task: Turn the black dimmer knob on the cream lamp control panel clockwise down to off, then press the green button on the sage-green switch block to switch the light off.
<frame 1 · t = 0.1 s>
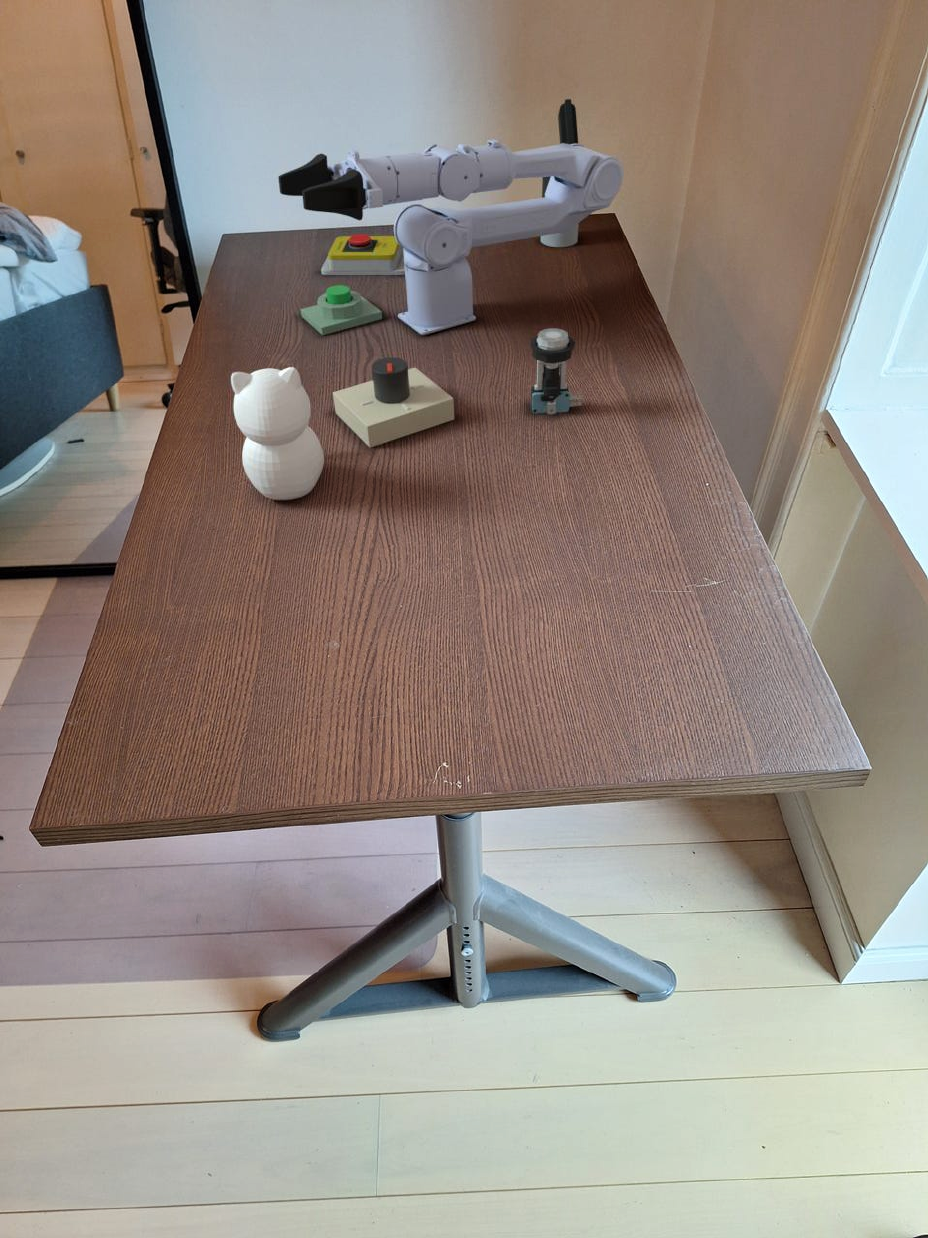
hand: (291, 192, 107), 22 cm above the table, tool horizontal, fingers open, 7 cm apart
track light: (560, 245, 150), on the table
push button: (554, 410, 109), on the table
cat figurine: (289, 481, 99), on the table
switch block: (341, 317, 131), on the table
light button: (338, 295, 129), point 3 cm above the table, slide at 0.1 cm
emergency button: (368, 265, 146), on the table
dimmer panel: (394, 416, 109), on the table
dimmer knob: (390, 379, 105), point 5 cm above the table, hinge at 65.0°
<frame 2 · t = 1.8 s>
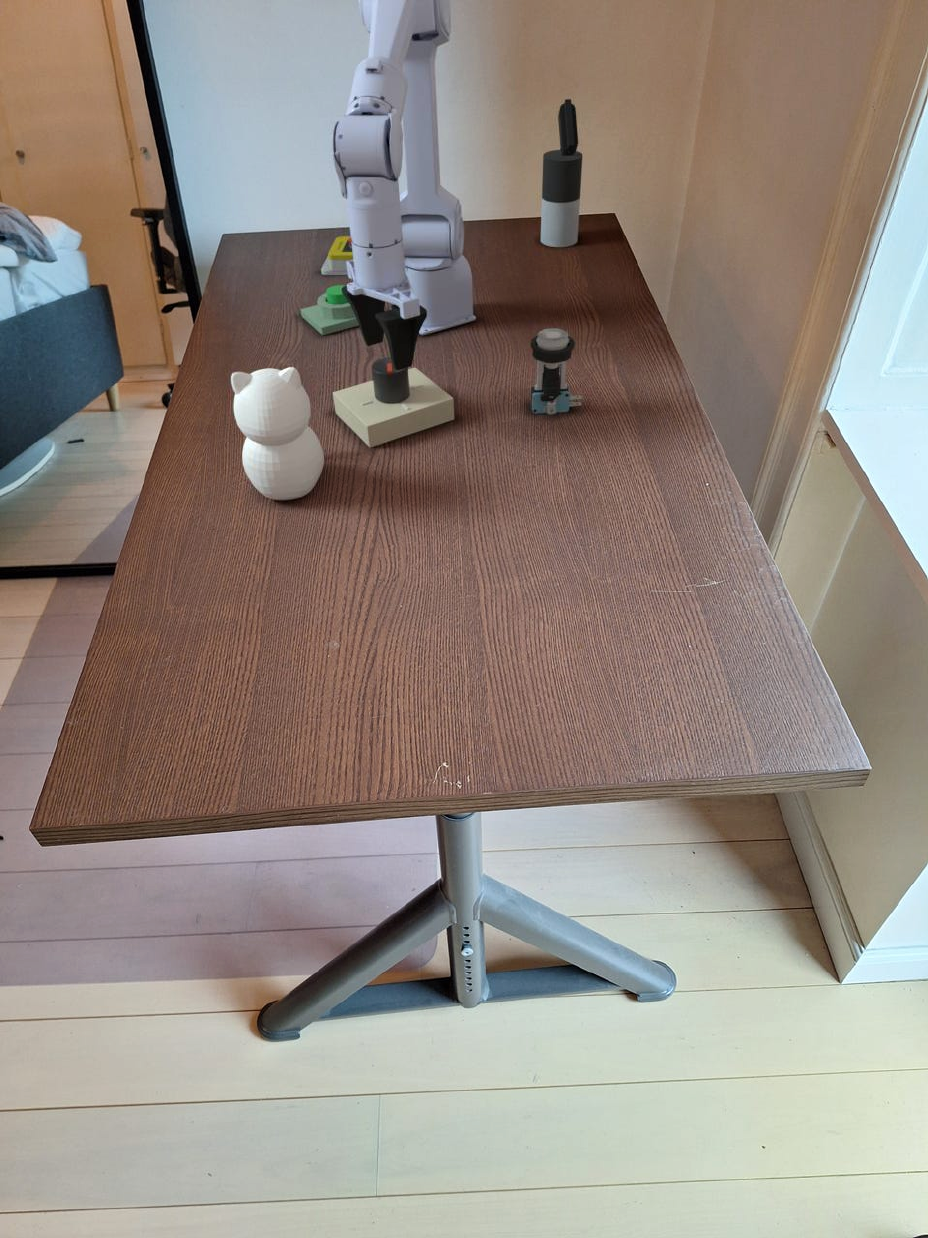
hand: (388, 354, 103), 8 cm above the table, tool pointing down, fingers open, 7 cm apart
nothing on the table moved.
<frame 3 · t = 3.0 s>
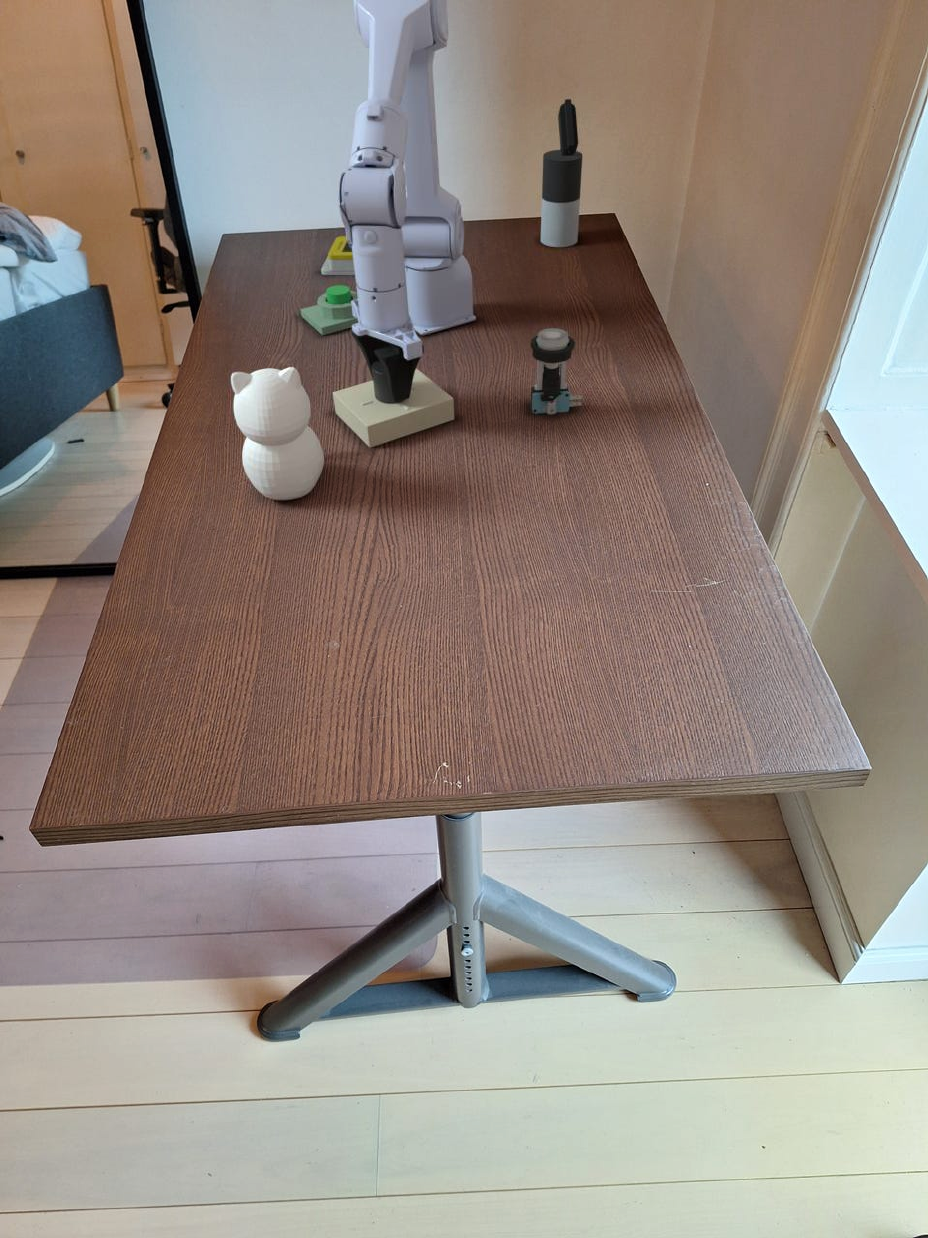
hand: (391, 390, 106), 4 cm above the table, tool pointing down, fingers closed on dimmer knob, 4 cm apart
dimmer knob: (390, 379, 105), point 5 cm above the table, hinge at 64.8°, touching gripper
everything else where it was.
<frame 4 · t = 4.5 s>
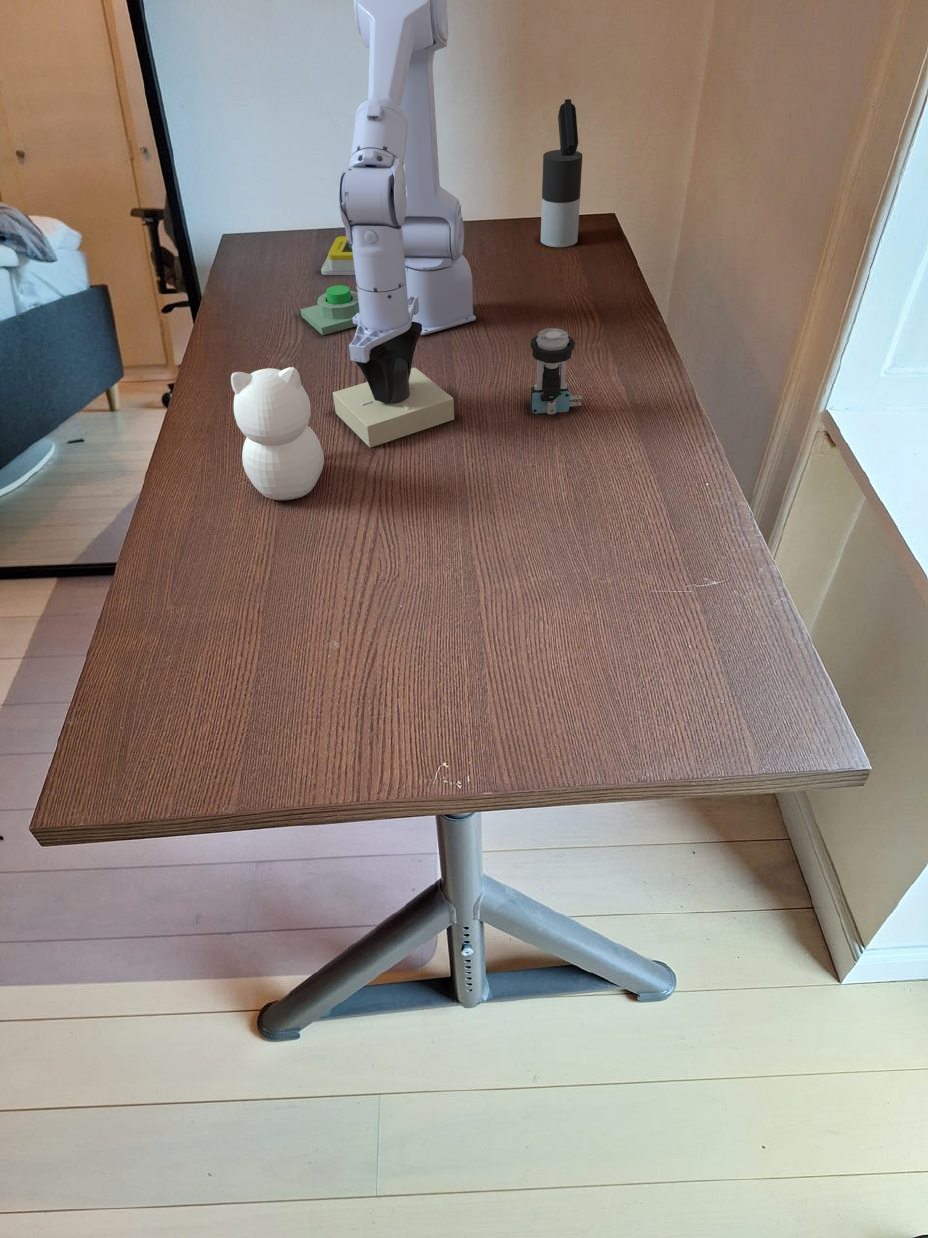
hand: (392, 390, 106), 4 cm above the table, tool pointing down, fingers closed on dimmer knob, 4 cm apart
dimmer knob: (390, 379, 105), point 5 cm above the table, hinge at 12.1°, touching gripper
everything else where it was.
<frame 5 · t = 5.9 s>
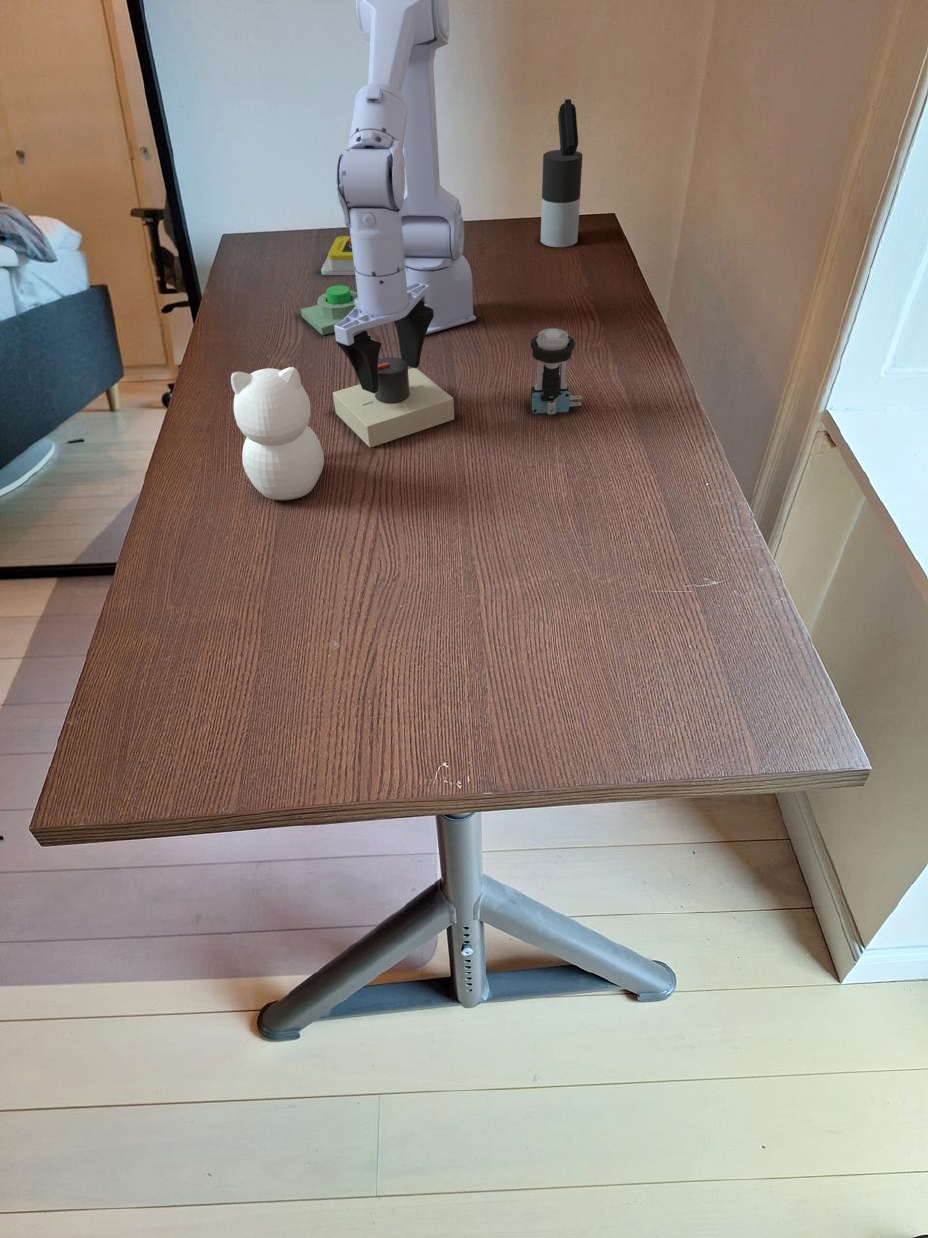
hand: (390, 377, 105), 5 cm above the table, tool pointing down, fingers open, 7 cm apart
dimmer knob: (390, 379, 105), point 5 cm above the table, hinge at -4.8°
everything else where it was.
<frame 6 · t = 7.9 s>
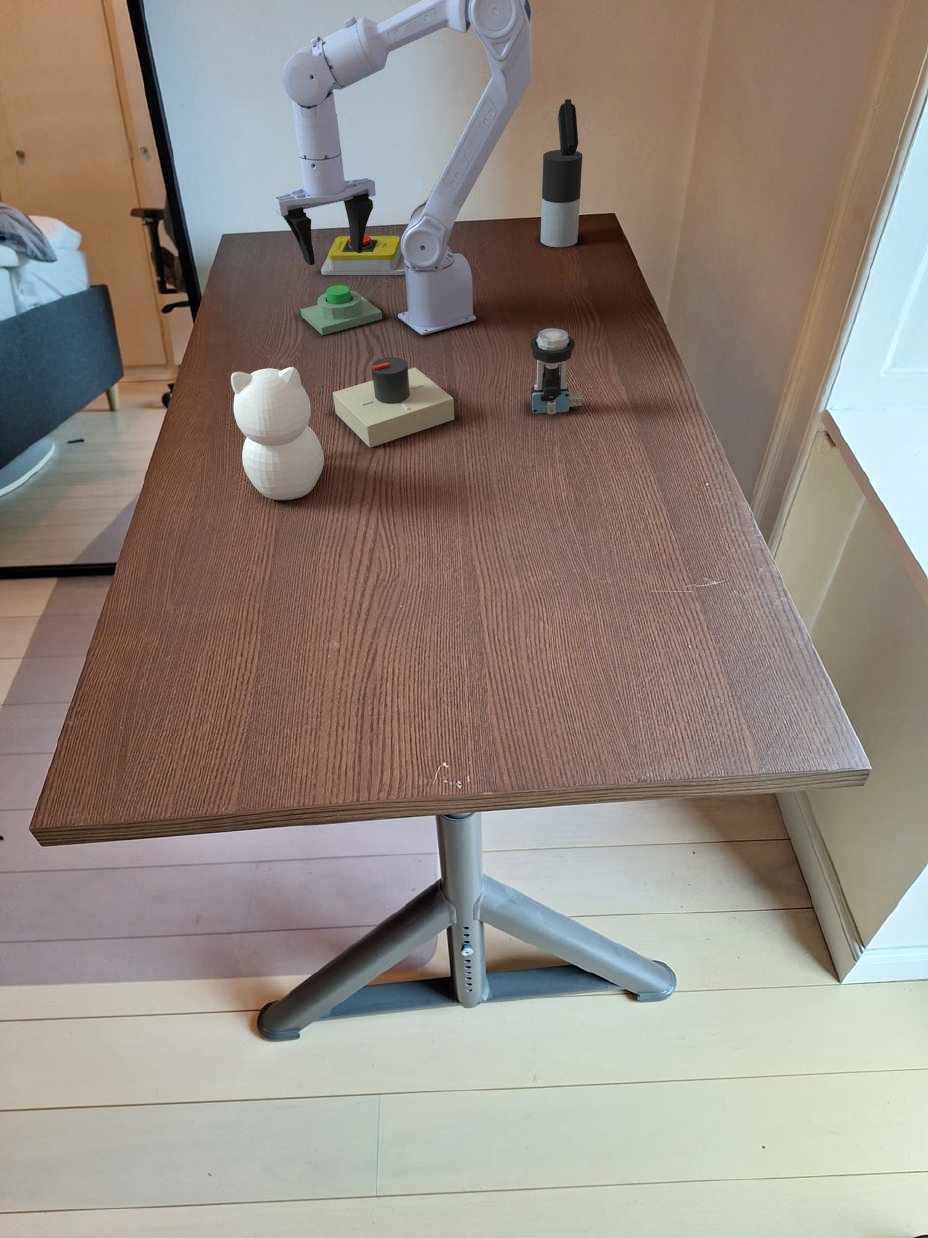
hand: (333, 256, 124), 9 cm above the table, tool pointing down, fingers open, 7 cm apart
nothing on the table moved.
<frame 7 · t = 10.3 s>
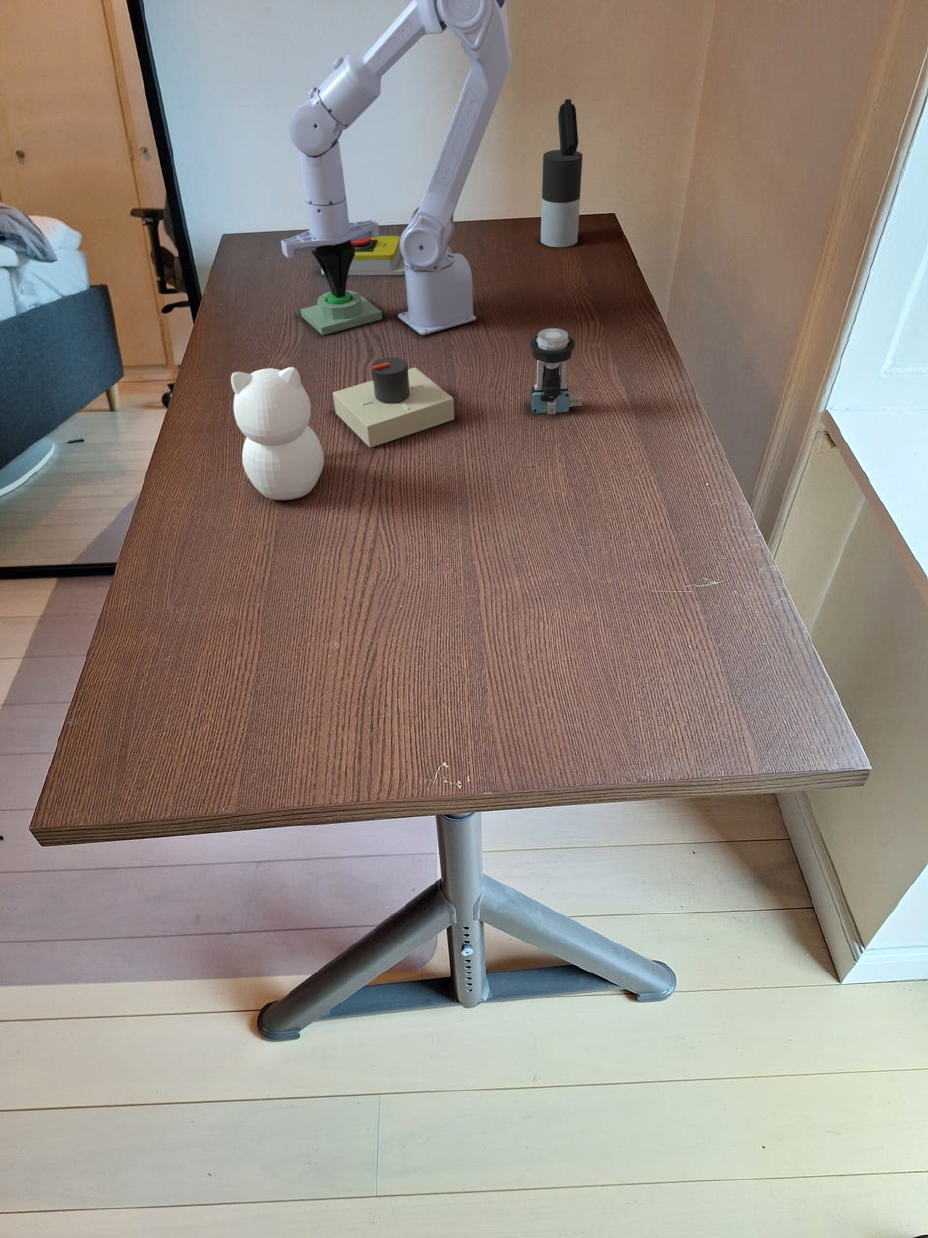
hand: (338, 294, 128), 4 cm above the table, tool pointing down, fingers closed, pressing on light button
light button: (339, 300, 129), point 3 cm above the table, slide at -0.7 cm, touching gripper
everything else where it was.
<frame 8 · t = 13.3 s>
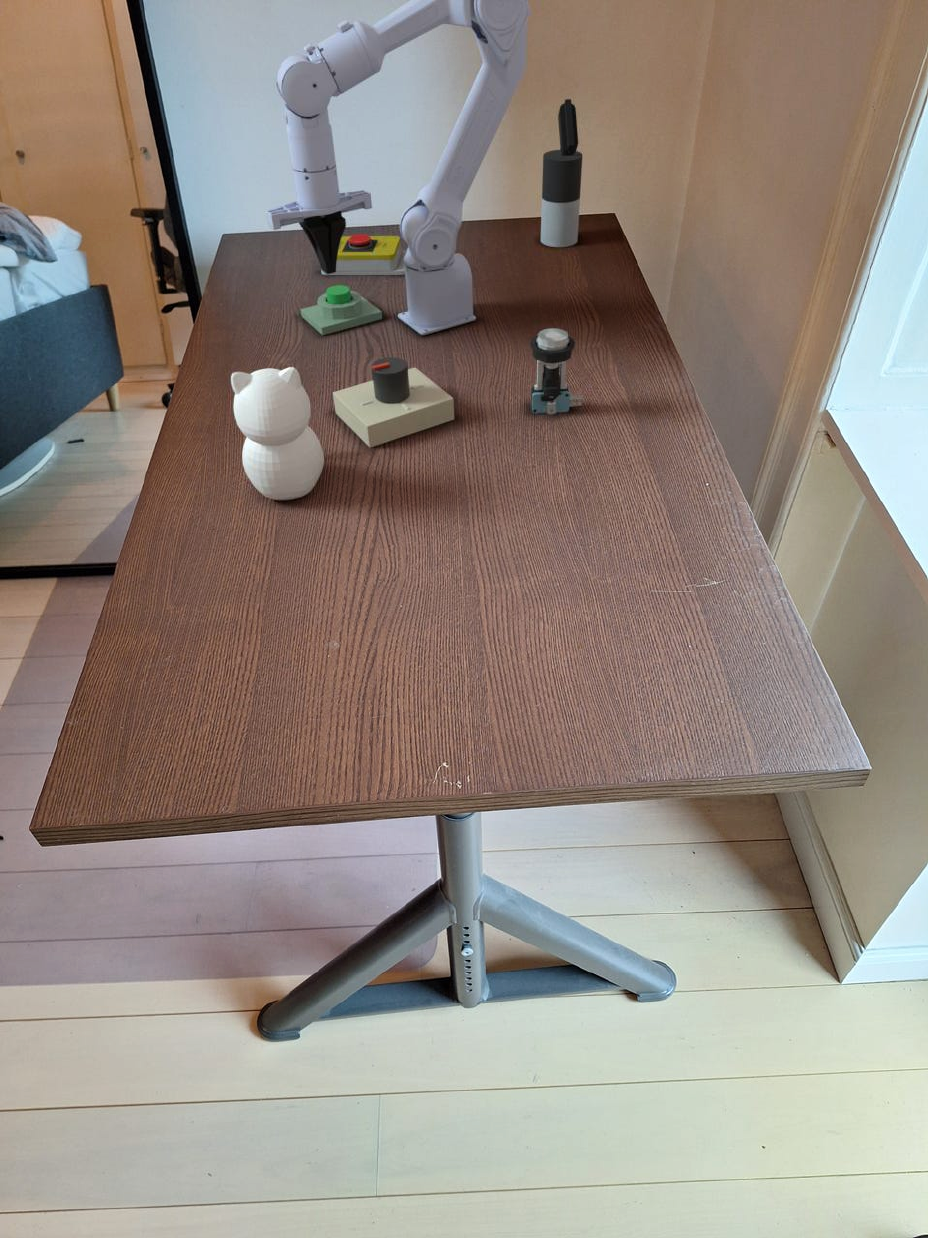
hand: (328, 270, 120), 9 cm above the table, tool pointing down, fingers closed
light button: (338, 295, 129), point 3 cm above the table, slide at 0.1 cm
everything else where it was.
at the end: dimmer knob at -5° (first picture: +65°); light button pushed in 1.2 cm at the most during the clip, back to where it started at the end; light button slide at 0.1 cm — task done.
